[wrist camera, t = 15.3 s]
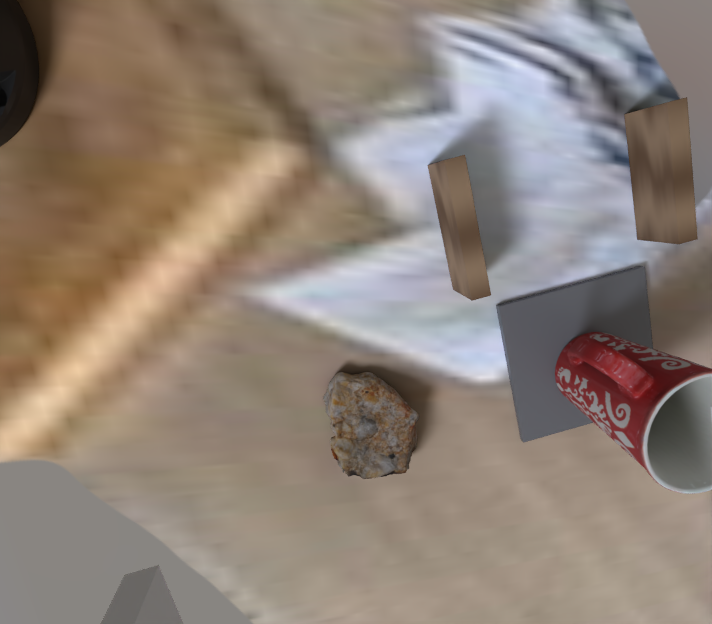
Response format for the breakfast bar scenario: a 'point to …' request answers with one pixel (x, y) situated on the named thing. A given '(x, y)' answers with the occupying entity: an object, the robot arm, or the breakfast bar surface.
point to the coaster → (565, 341)
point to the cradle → (649, 186)
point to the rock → (369, 426)
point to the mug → (644, 405)
